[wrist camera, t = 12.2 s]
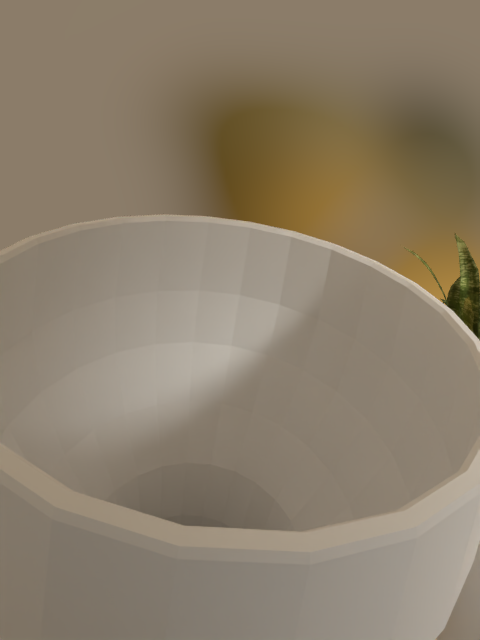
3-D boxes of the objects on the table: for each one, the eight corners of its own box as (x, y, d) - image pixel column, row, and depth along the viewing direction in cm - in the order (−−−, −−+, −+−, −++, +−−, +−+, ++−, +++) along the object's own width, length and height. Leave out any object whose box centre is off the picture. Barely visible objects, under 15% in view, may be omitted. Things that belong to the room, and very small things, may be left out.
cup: (-66, 762, 12) (-383, 359, 5) (133, 485, 21) (139, 183, 13) (273, 1001, 10) (797, 995, 2) (340, 577, 19) (494, 275, 11)
